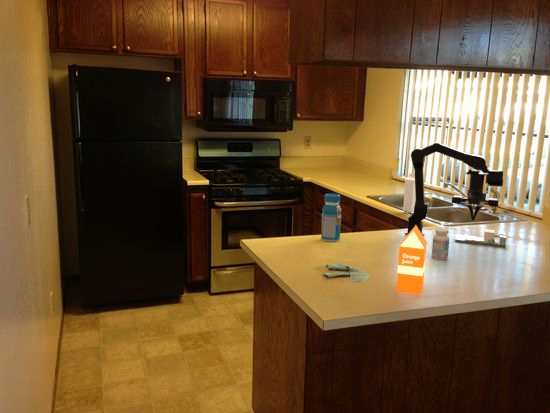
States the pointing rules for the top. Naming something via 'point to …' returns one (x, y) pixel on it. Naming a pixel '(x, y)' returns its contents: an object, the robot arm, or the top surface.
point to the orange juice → (411, 263)
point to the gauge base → (482, 240)
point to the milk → (409, 193)
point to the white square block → (490, 235)
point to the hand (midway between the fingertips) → (473, 220)
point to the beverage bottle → (331, 218)
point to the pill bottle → (440, 244)
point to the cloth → (354, 273)
